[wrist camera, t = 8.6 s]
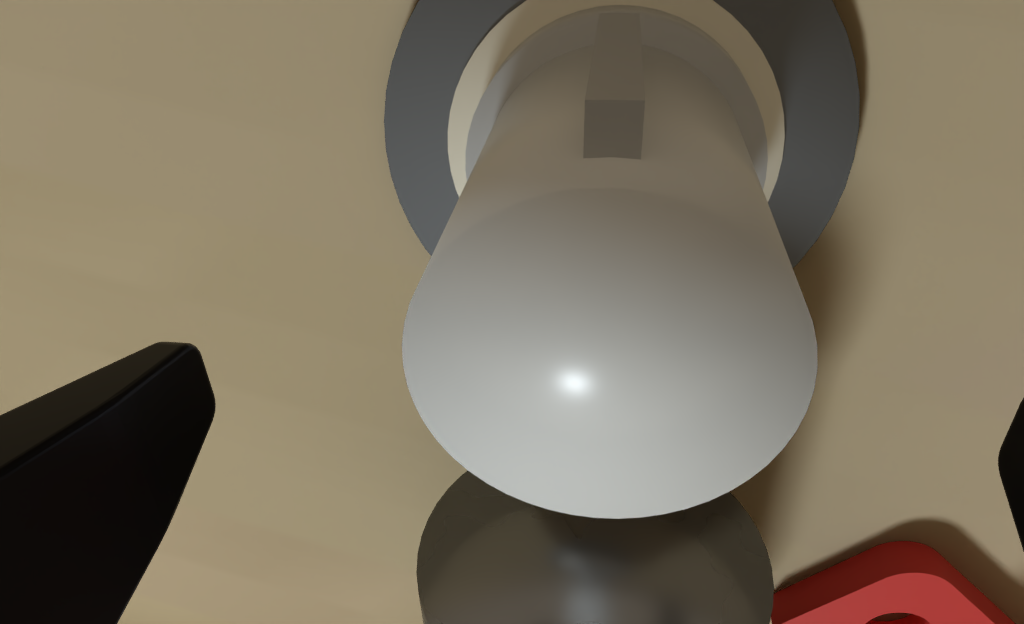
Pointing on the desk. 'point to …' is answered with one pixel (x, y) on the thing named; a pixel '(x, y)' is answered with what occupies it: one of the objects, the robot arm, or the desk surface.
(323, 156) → the desk surface
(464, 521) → the grey rounded block
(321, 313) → the desk surface
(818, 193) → the flange
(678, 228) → the white knob
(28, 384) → the desk surface
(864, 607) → the bracket
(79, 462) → the robot arm
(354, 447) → the desk surface
